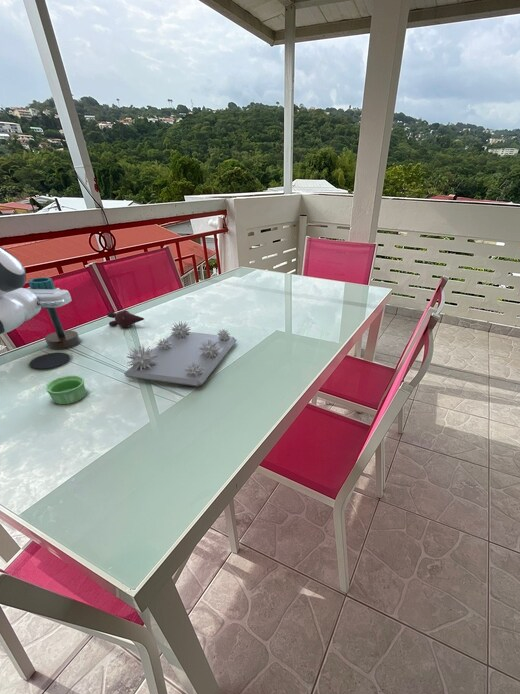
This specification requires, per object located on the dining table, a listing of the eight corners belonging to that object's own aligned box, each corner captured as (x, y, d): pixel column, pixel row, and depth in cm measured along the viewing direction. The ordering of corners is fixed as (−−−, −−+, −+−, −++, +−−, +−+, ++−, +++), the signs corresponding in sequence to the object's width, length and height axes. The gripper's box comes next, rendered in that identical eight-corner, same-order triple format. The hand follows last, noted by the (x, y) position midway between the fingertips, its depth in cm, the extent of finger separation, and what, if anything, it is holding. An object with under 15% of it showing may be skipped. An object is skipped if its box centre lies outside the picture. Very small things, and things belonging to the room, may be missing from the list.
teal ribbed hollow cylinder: (34, 308, 109) (23, 282, 104) (44, 302, 114) (34, 276, 109) (55, 309, 110) (45, 282, 105) (64, 302, 115) (55, 277, 110)
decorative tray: (201, 391, 99) (197, 362, 93) (121, 380, 101) (112, 351, 96) (237, 343, 127) (236, 318, 122) (174, 335, 130) (170, 311, 124)
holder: (42, 349, 115) (22, 304, 106) (56, 337, 123) (39, 294, 114) (73, 349, 116) (56, 305, 107) (85, 337, 124) (70, 295, 115)
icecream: (146, 309, 135) (111, 309, 136) (137, 310, 128) (100, 311, 129) (149, 326, 137) (115, 326, 138) (140, 328, 130) (104, 329, 131)
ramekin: (66, 386, 97) (60, 373, 94) (95, 389, 96) (90, 377, 94) (43, 404, 90) (36, 390, 87) (74, 407, 89) (69, 394, 87)
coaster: (22, 370, 103) (22, 368, 103) (41, 354, 112) (40, 352, 112) (60, 369, 105) (60, 368, 104) (76, 354, 114) (75, 352, 113)
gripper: (55, 294, 98) (75, 281, 109) (-22, 292, 95) (8, 279, 107) (62, 314, 101) (81, 300, 113) (-11, 313, 99) (16, 298, 110)
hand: (45, 289), depth 110 cm, fingers closed on teal ribbed hollow cylinder, 6 cm apart
